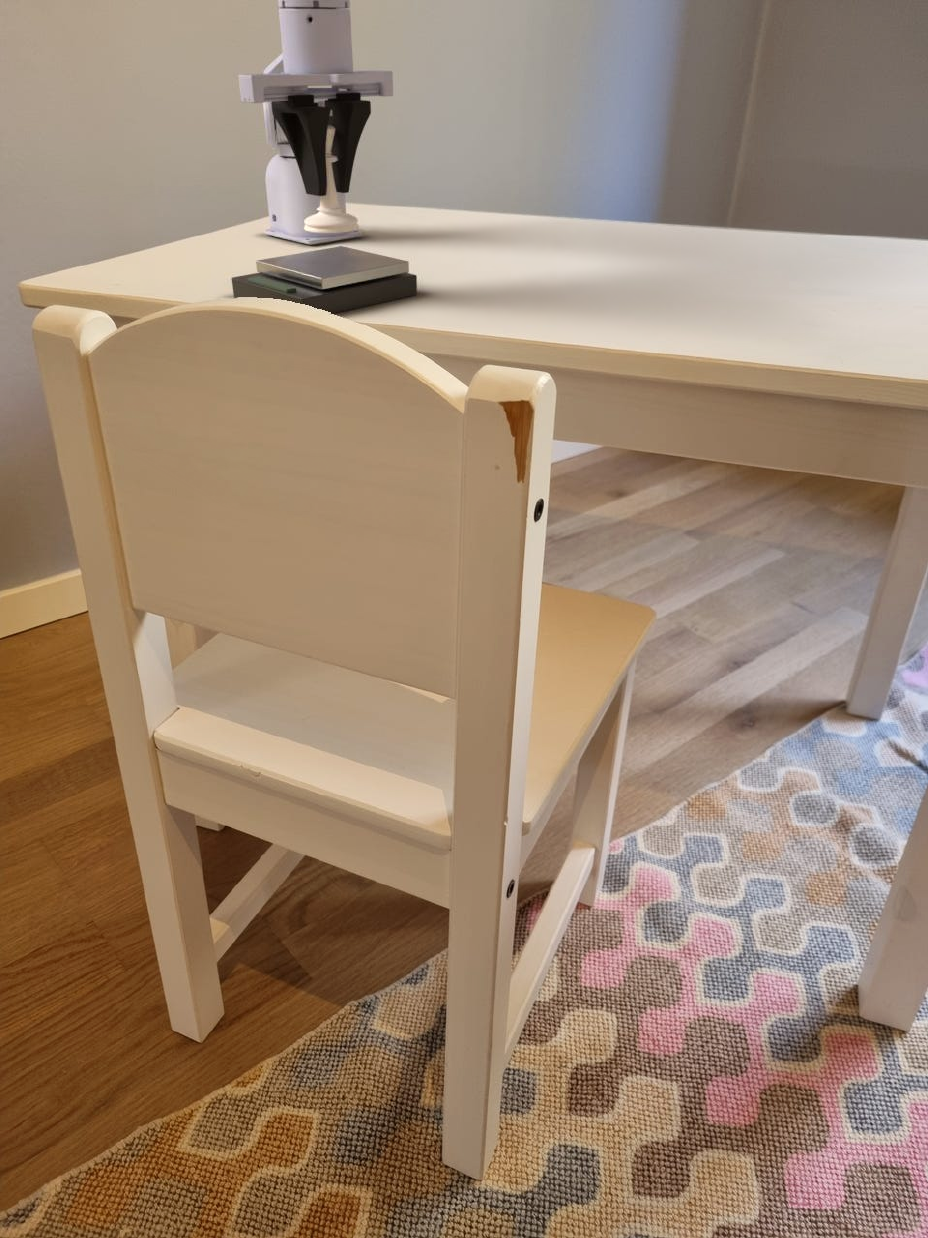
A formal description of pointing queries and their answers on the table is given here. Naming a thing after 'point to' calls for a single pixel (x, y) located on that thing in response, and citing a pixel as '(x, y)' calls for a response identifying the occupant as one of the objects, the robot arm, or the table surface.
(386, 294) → the scale
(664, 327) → the table surface
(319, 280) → the scale pan
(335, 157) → the chess piece
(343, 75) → the robot arm
